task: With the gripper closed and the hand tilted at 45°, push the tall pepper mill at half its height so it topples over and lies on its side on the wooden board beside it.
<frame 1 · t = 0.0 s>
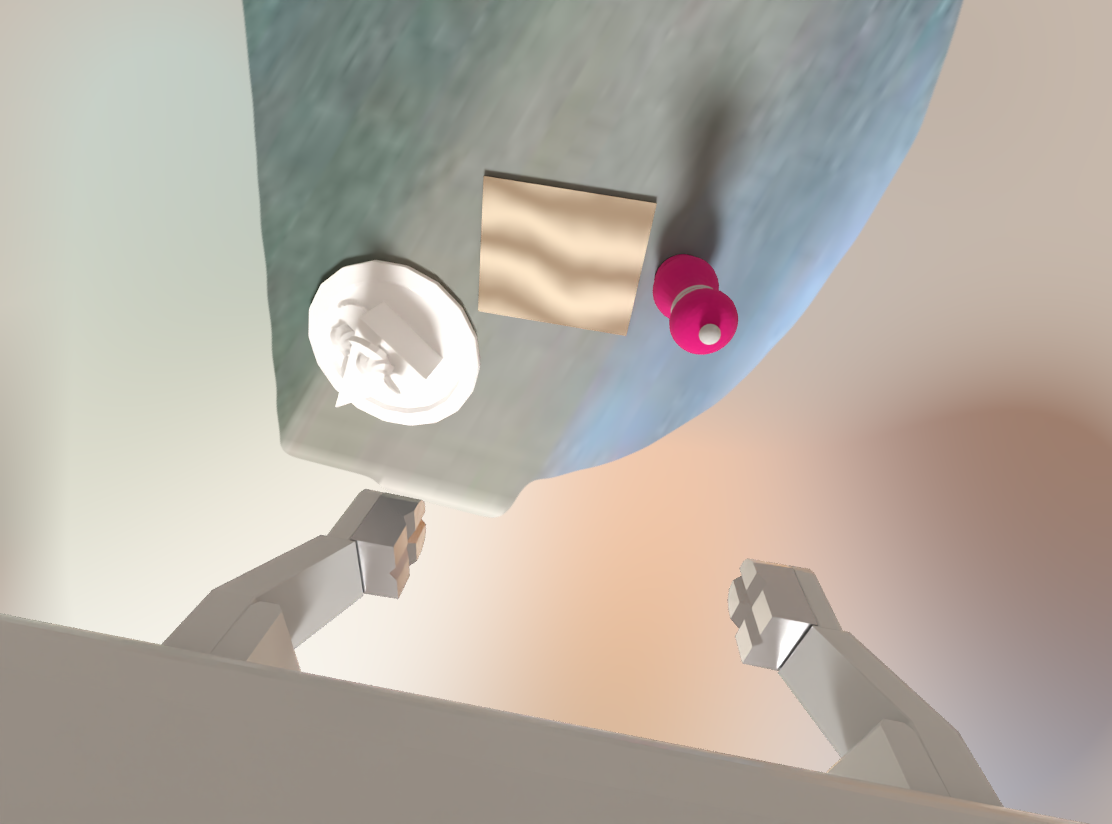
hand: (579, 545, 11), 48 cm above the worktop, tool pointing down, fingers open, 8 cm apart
dish: (397, 347, 63), on the worktop
pepper mill: (679, 279, 54), on the worktop
wooden board: (560, 260, 54), on the worktop
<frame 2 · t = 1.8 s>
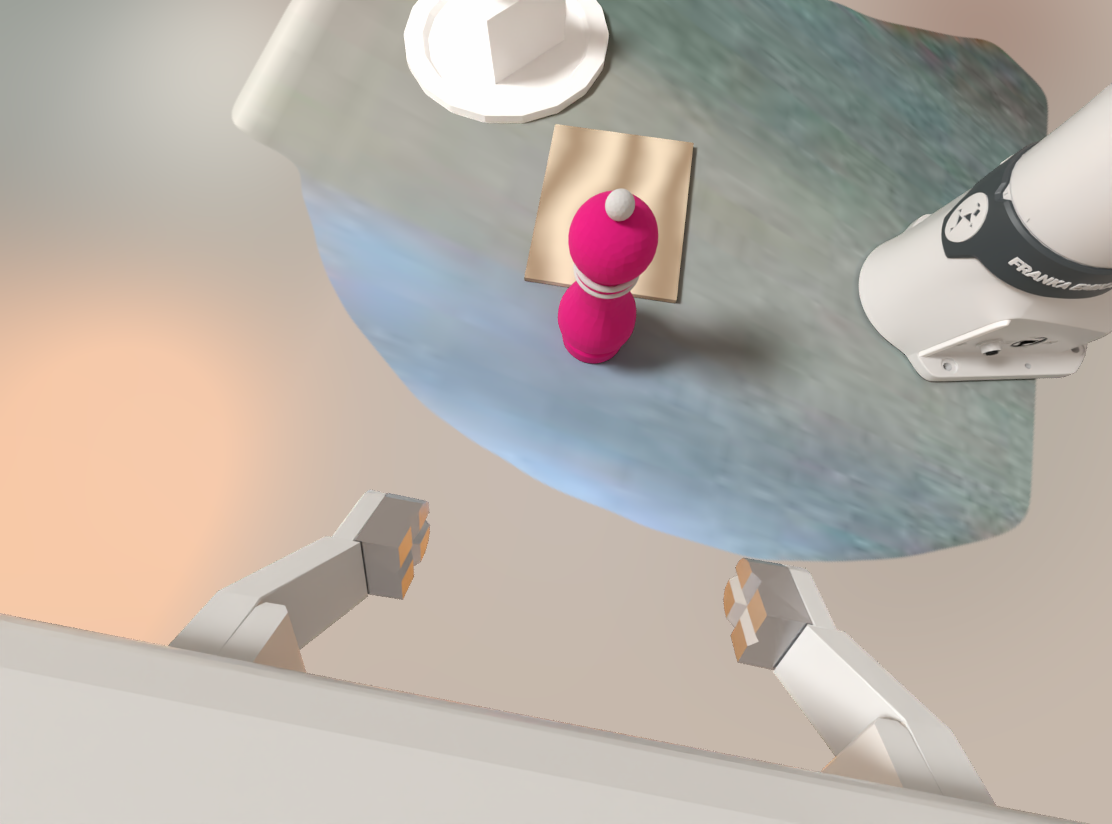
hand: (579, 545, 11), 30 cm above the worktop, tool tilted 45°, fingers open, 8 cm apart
dish: (507, 46, 54), on the worktop
pepper mill: (592, 336, 45), on the worktop
wooden board: (611, 211, 48), on the worktop
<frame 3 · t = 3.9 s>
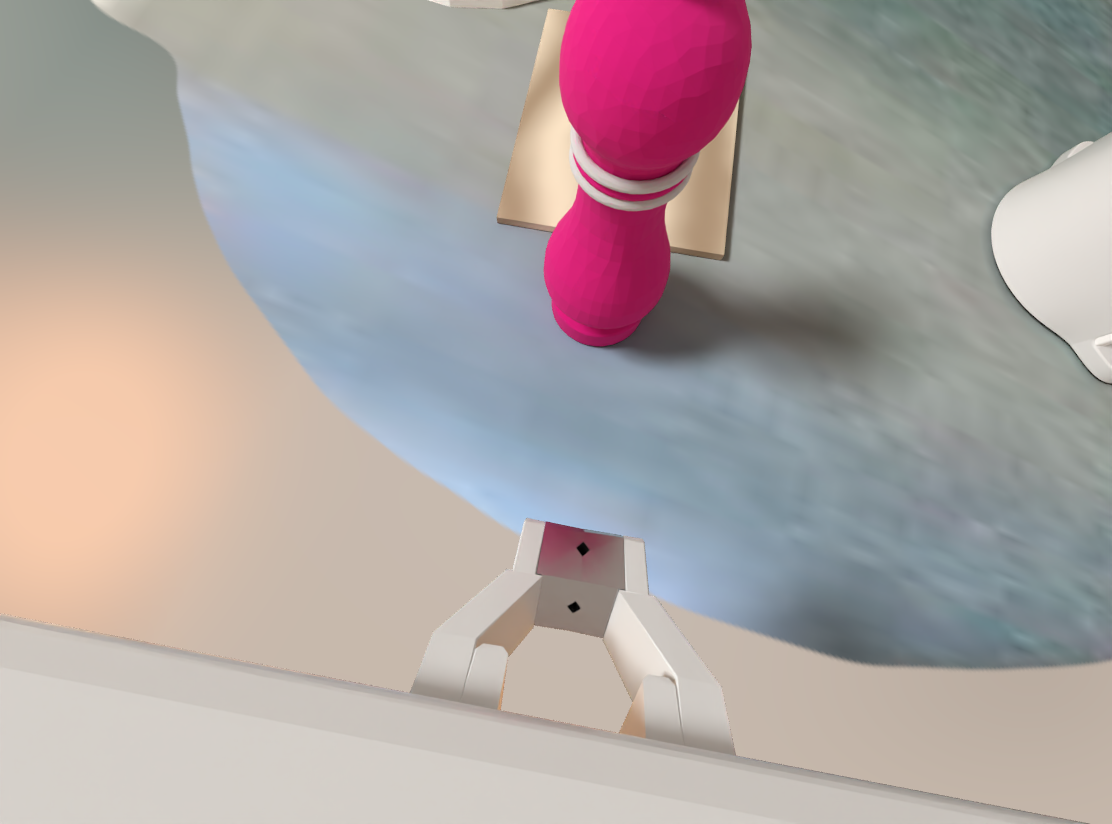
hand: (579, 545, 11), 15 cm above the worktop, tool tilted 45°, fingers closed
pepper mill: (597, 306, 30), on the worktop
wooden board: (627, 128, 33), on the worktop
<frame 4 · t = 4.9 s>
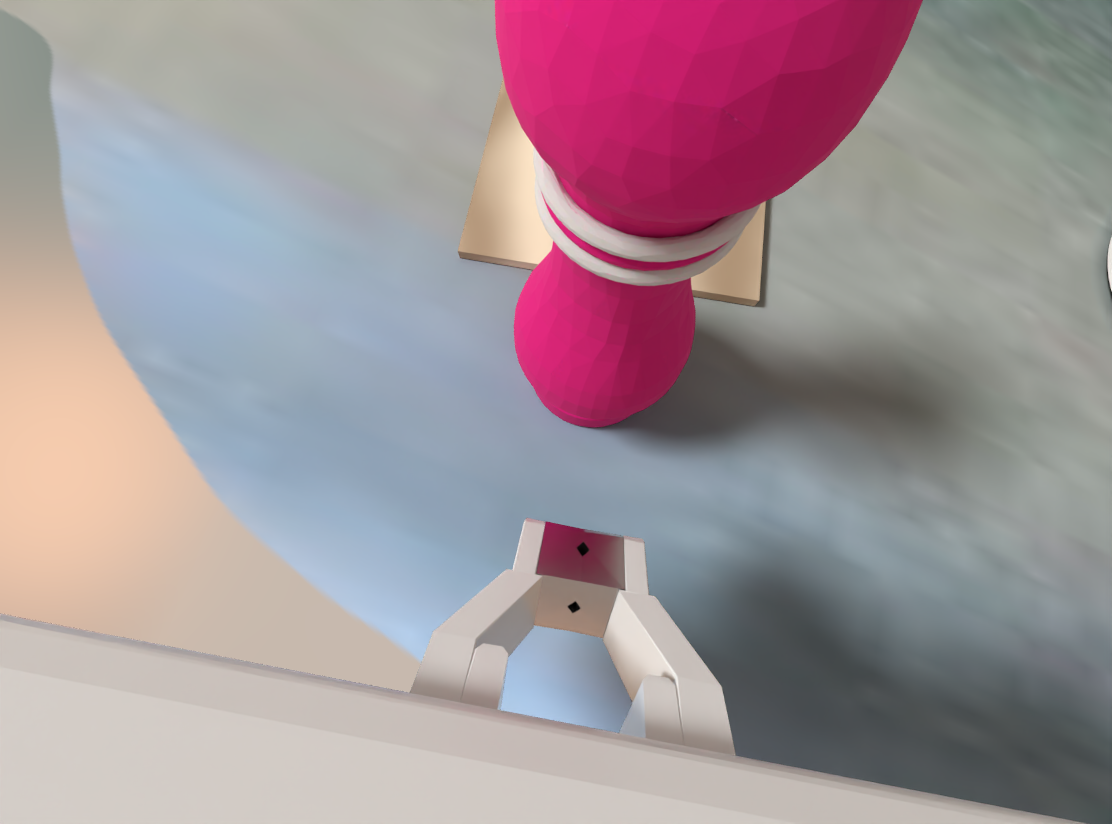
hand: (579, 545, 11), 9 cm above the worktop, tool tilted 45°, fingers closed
pepper mill: (591, 369, 22), on the worktop
wooden board: (629, 133, 26), on the worktop
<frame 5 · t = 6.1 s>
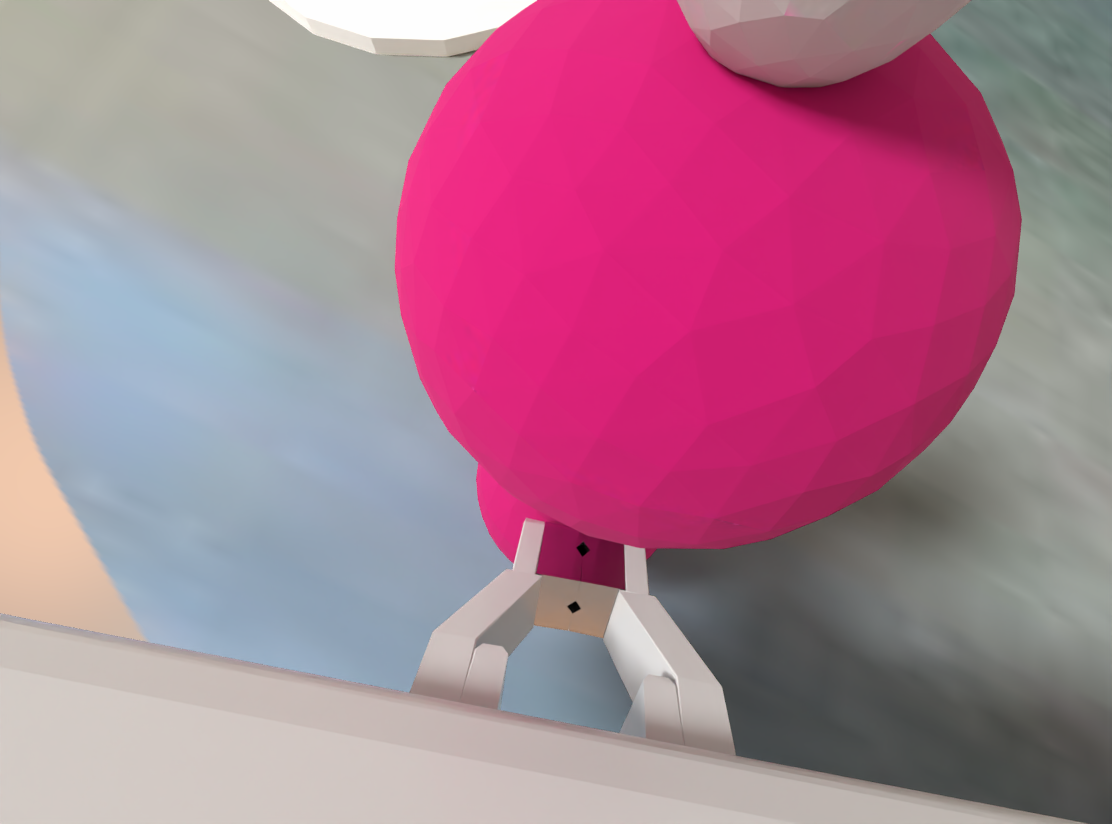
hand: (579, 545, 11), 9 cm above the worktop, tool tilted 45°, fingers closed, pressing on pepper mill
pepper mill: (567, 500, 20), on the worktop, touching gripper
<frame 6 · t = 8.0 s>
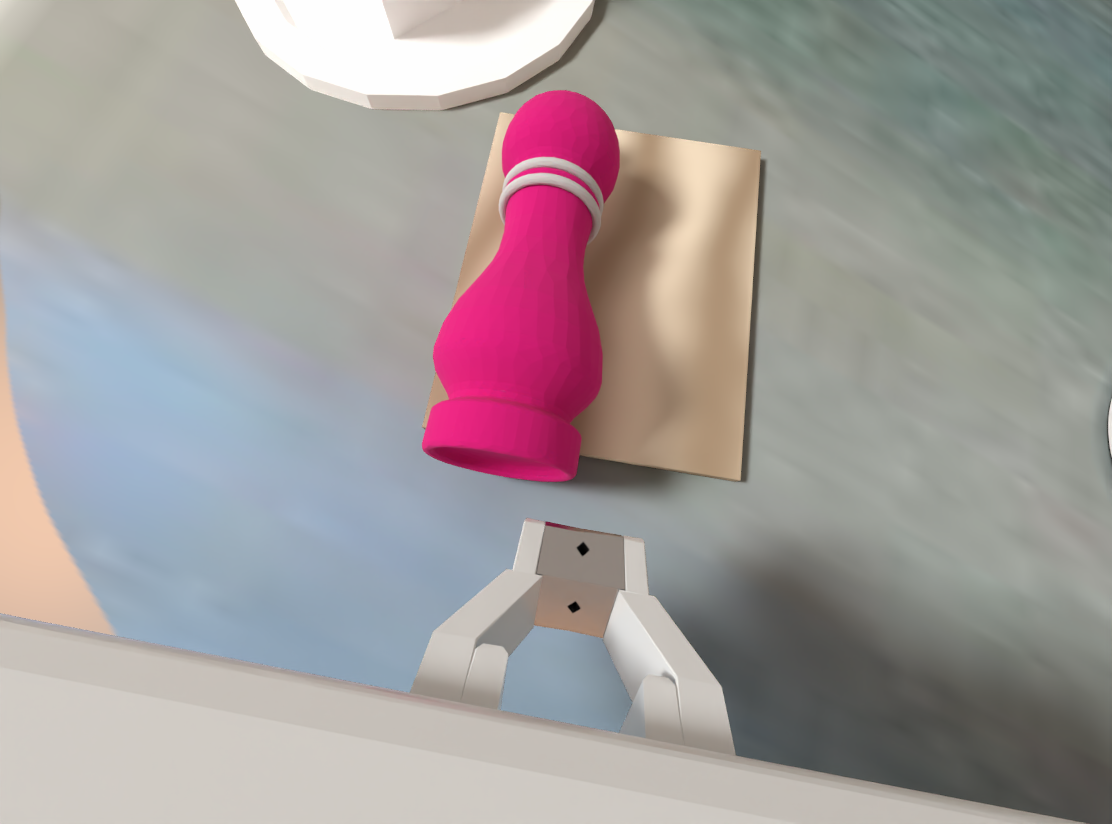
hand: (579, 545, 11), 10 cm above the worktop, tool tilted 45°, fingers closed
pepper mill: (498, 471, 17), point 4 cm above the worktop, touching wooden board
wooden board: (605, 281, 24), on the worktop
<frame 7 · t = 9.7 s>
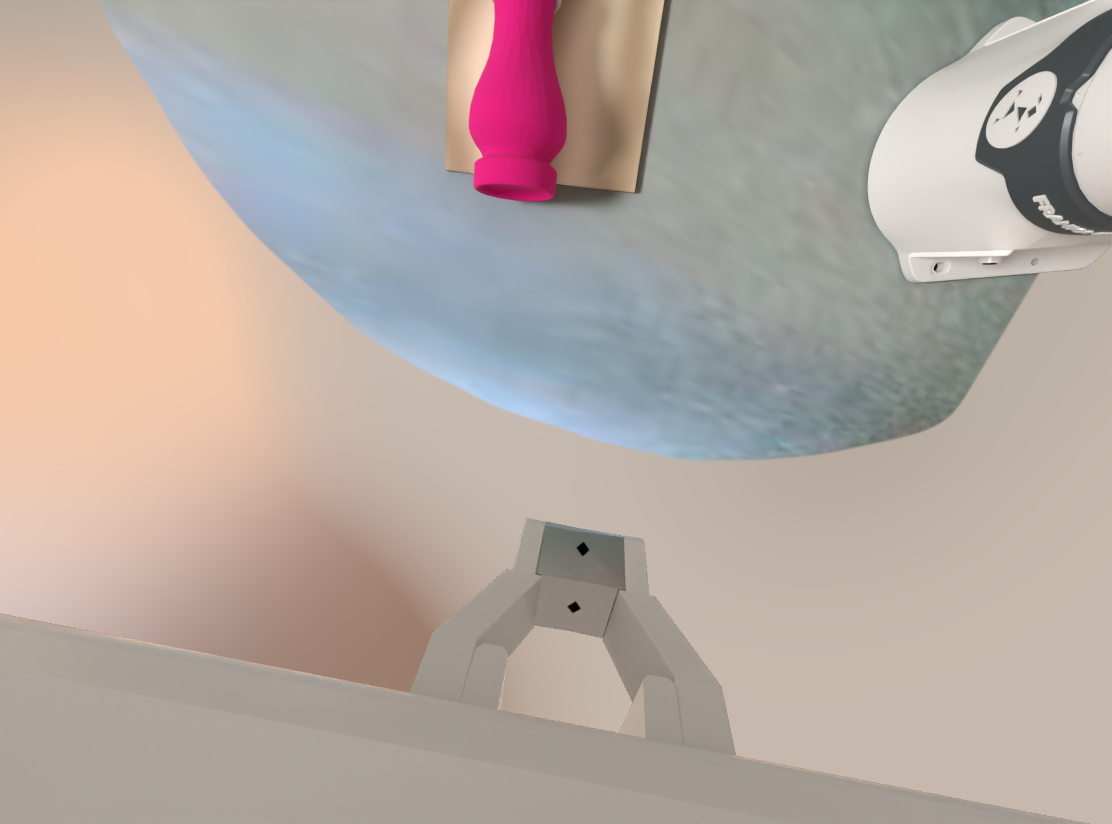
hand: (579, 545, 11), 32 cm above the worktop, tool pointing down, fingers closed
pepper mill: (514, 196, 33), point 4 cm above the worktop, touching wooden board
wooden board: (553, 38, 34), on the worktop
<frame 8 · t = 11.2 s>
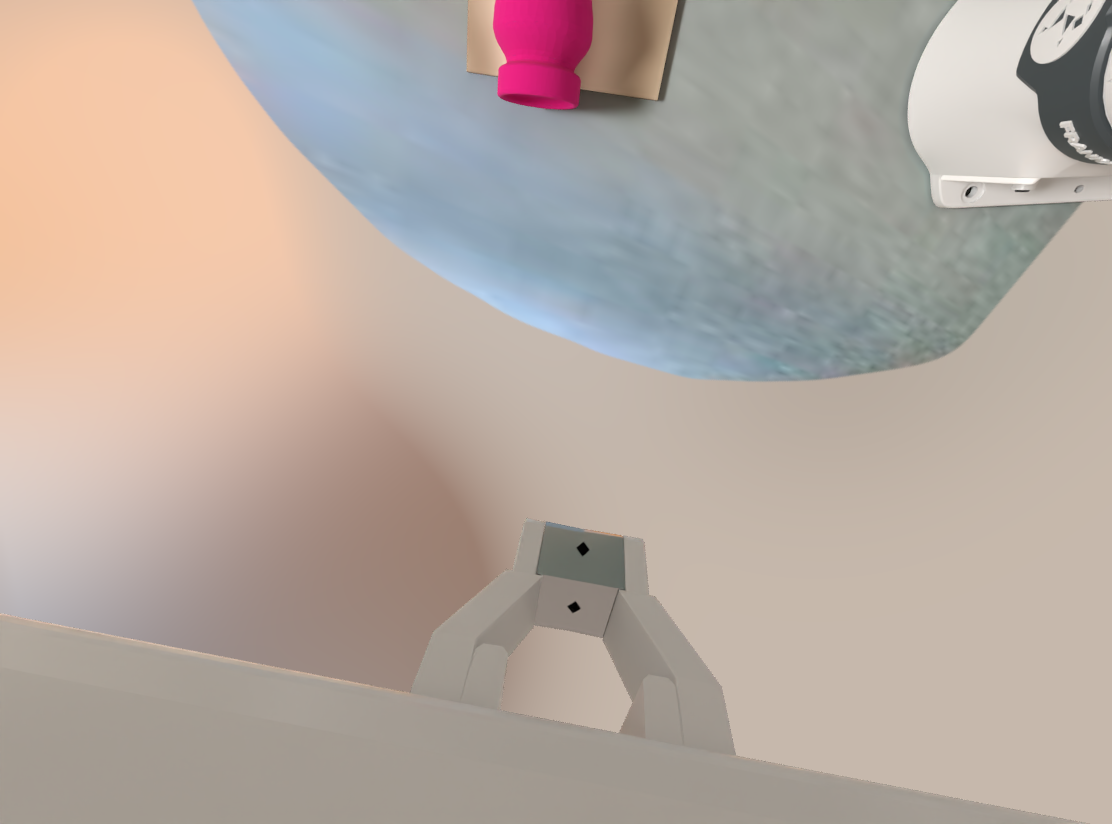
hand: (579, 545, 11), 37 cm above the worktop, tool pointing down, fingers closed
pepper mill: (538, 105, 33), point 4 cm above the worktop, touching wooden board
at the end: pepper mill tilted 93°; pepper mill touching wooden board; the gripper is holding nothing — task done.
